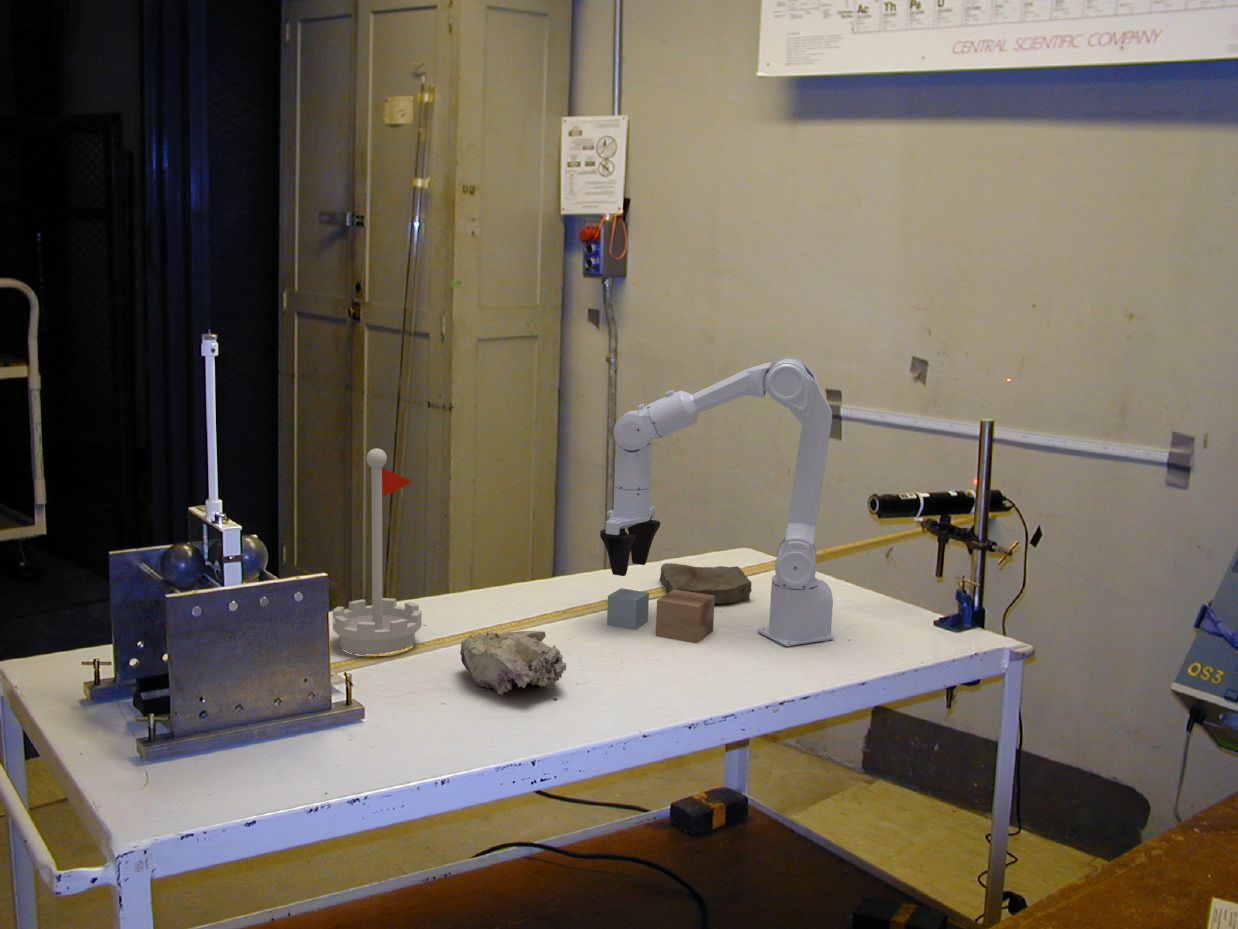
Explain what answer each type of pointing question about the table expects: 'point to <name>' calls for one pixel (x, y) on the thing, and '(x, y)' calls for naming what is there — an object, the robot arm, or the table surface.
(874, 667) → the table surface
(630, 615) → the slate cube
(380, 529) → the flag stand
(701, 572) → the flat brown rock
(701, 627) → the wood grain block
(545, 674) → the geode
